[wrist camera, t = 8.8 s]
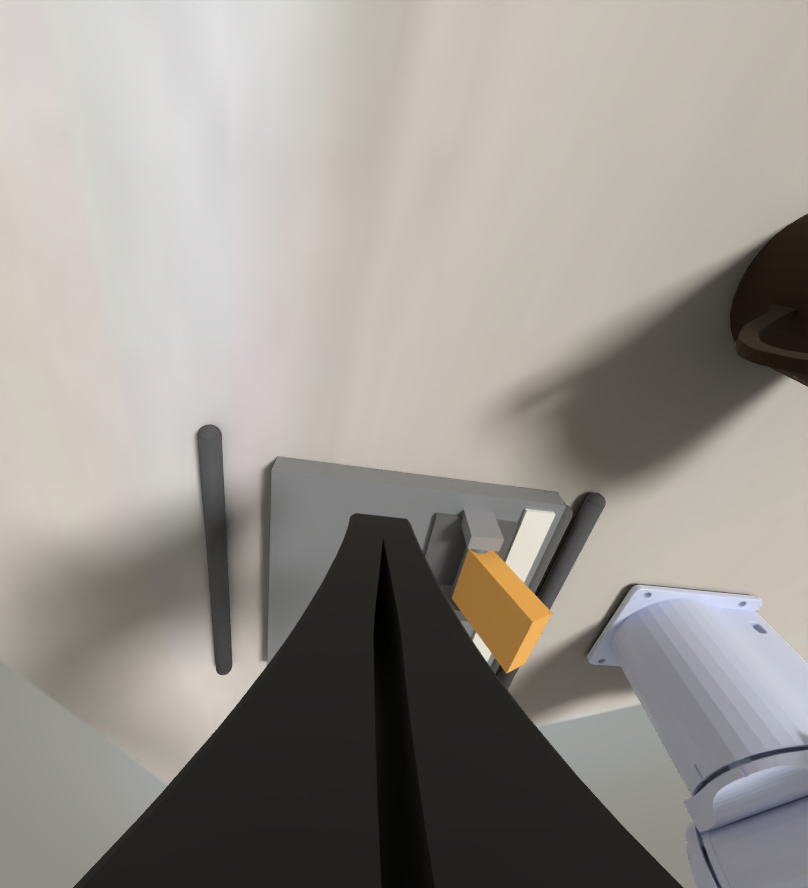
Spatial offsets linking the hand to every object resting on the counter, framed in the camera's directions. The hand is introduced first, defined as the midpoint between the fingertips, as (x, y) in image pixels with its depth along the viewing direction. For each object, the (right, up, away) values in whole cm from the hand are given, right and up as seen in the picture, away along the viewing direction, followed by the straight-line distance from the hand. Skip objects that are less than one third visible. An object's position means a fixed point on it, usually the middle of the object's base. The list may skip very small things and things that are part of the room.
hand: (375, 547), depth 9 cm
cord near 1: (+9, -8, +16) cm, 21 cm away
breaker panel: (0, -6, +15) cm, 16 cm away
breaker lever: (+4, -4, +11) cm, 12 cm away
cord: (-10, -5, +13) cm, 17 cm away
